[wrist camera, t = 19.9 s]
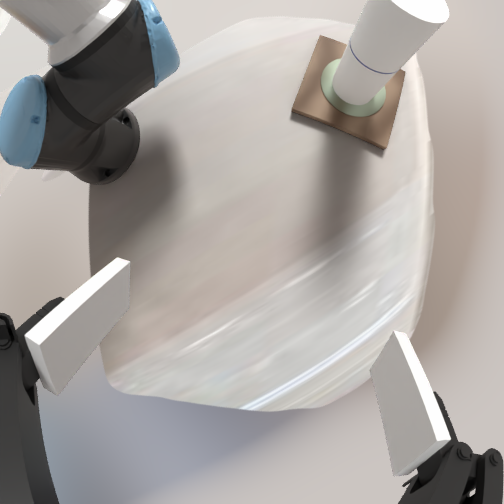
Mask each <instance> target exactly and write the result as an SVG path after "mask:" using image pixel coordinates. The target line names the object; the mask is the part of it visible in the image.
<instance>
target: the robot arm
mask: <svg viewBox="0 0 504 504" xmlns="http://www.w3.org/2000/svg"><path fill="white" fill-rule="evenodd" d="M0 7H1V8H2V9H4V10H5V11H6V12H7V13H9V14H10V15H11V16H13V17H14V18H15V19H16V20H18V21H19V22H20V23H21V24H23V25H24V26H25V27H27V28H28V29H29V30H30V31H31V32H33V33H34V34H35V35H36V36H38V37H39V38H40V39H41V40H43V41H44V42H45V43H46V44H48V63H49V64H50V65H51V66H52V68H51V69H50V70H49V71H48V72H47V73H46V74H45V75H44V76H43V77H40V76H39V75H30V76H28V77H24V78H23V79H21V80H20V81H19V82H18V83H17V84H16V85H15V87H14V88H13V89H12V91H11V92H10V94H9V96H8V98H7V100H6V102H5V104H4V107H3V110H2V113H1V117H0V153H1V155H2V157H3V159H4V160H5V161H6V162H7V163H8V164H10V165H13V166H19V167H23V168H25V169H30V168H31V169H46V170H60V171H69V172H71V173H72V174H73V175H75V176H76V177H77V178H79V179H80V180H82V181H84V182H87V183H90V184H106V183H110V182H112V181H114V180H116V179H117V178H119V177H120V176H121V175H122V174H123V173H124V172H125V171H126V170H127V169H128V168H129V166H130V165H131V163H132V161H133V160H134V158H135V155H136V153H137V150H138V146H139V140H140V131H139V125H138V122H137V119H136V117H135V116H134V114H133V113H132V112H131V111H130V110H129V109H127V108H125V107H126V106H127V105H129V104H130V103H131V102H133V101H134V100H135V99H137V98H138V97H140V96H141V95H142V94H144V93H145V92H147V91H148V90H150V89H151V88H155V87H157V85H158V84H159V83H160V82H161V81H163V80H164V79H166V78H167V77H169V76H170V75H171V74H173V73H174V72H175V71H176V70H177V69H178V67H179V64H180V57H179V54H178V52H177V49H176V47H175V44H174V42H173V40H172V38H171V36H170V33H169V31H168V29H167V28H166V25H165V23H164V22H163V21H162V18H161V16H160V14H159V12H158V10H157V8H156V6H155V5H154V3H153V1H152V0H0ZM129 308H130V261H127V260H124V259H121V258H118V257H117V258H116V259H115V260H113V261H112V262H111V263H109V264H108V265H107V266H105V267H104V268H103V269H102V270H100V271H99V272H98V273H97V274H95V275H94V276H93V277H92V278H90V279H89V280H88V281H87V282H85V283H84V284H83V285H82V286H80V287H79V288H78V289H77V290H76V291H74V292H73V293H72V294H71V295H70V296H68V297H67V298H66V299H64V298H62V297H59V298H56V299H54V300H51V301H49V302H48V303H47V304H46V305H45V306H43V307H42V309H40V310H39V311H37V312H36V314H34V315H33V316H31V317H30V318H29V319H28V320H27V321H26V322H25V323H23V324H22V325H21V326H20V327H19V328H18V329H17V330H15V327H14V324H13V320H12V319H11V318H10V316H9V315H7V314H5V313H0V504H59V502H58V498H57V495H56V492H55V488H54V485H53V482H52V478H51V474H50V470H49V466H48V461H47V457H46V452H45V447H44V442H43V436H42V429H41V423H40V415H39V407H38V396H37V387H36V382H37V380H38V379H39V378H40V380H41V382H42V384H43V387H44V388H46V389H48V390H49V391H50V392H52V393H54V394H55V395H57V396H58V395H59V394H60V393H61V391H62V390H63V389H64V387H65V386H66V385H67V384H68V382H69V381H70V380H71V378H72V377H73V376H74V375H75V373H76V372H77V371H78V370H79V368H80V367H81V366H82V365H83V363H84V362H85V361H86V359H87V358H88V357H89V356H90V355H91V353H92V352H93V351H94V349H95V348H96V347H97V346H98V345H99V344H100V342H101V341H102V340H103V339H104V338H105V336H106V335H107V334H108V333H109V332H110V330H111V329H112V328H113V327H114V326H115V324H116V323H117V322H118V321H119V320H120V319H121V317H122V316H123V315H124V314H125V313H126V312H127V310H128V309H129ZM370 373H371V377H372V380H373V384H374V388H375V392H376V396H377V400H378V405H379V409H380V413H381V417H382V422H383V426H384V430H385V435H386V440H387V445H388V450H389V455H390V461H391V466H392V472H393V476H402V475H408V474H409V473H411V472H412V471H414V470H415V469H416V468H417V470H418V474H417V475H415V476H414V477H412V478H411V479H410V480H408V481H407V482H405V483H404V484H403V485H402V486H403V487H405V486H406V485H407V484H409V483H410V485H409V486H408V488H407V490H406V491H405V493H404V495H403V496H402V498H401V500H400V501H399V503H398V504H502V498H503V459H502V456H501V454H500V452H499V451H498V450H496V449H493V448H491V449H488V450H487V451H486V452H485V453H484V454H483V455H478V454H474V453H473V451H472V450H471V448H470V447H469V446H468V445H467V444H466V443H463V442H458V440H457V437H456V434H455V432H454V429H453V426H452V423H451V421H450V418H449V417H448V414H447V411H446V410H445V406H444V404H443V401H442V399H441V398H440V397H439V396H438V394H437V393H436V392H433V391H432V389H431V386H430V384H429V382H428V380H427V377H426V375H425V373H424V370H423V368H422V366H421V364H420V362H419V360H418V358H417V355H416V353H415V351H414V349H413V347H412V345H411V343H410V341H409V339H408V337H407V335H406V333H402V332H397V331H393V333H392V335H391V336H390V338H389V340H388V342H387V343H386V345H385V347H384V348H383V350H382V351H381V353H380V355H379V356H378V358H377V359H376V361H375V363H374V364H373V366H372V367H371V369H370ZM475 488H476V491H475V494H474V495H472V496H471V497H470V496H469V494H470V492H471V491H472V490H474V489H475Z"/></svg>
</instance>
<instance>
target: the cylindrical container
mask: <svg viewBox="0 0 504 504" xmlns="http://www.w3.org/2000/svg"><path fill="white" fill-rule="evenodd" d="M448 17H449V10H448V7H447V4H446V3H445V1H444V0H367V2H366V4H365V6H364V8H363V11H362V13H361V15H360V17H359V20H358V22H357V24H356V26H355V29H354V31H353V33H352V35H351V38H350V40H349V42H348V44H347V47H346V49H345V51H344V53H343V56H342V58H341V60H340V62H339V65H338V67H337V69H336V71H335V74H334V76H333V79H332V85H333V88H334V91H335V92H336V94H337V95H338V96H339V97H340V98H341V99H342V100H343V101H345V102H347V103H349V104H353V105H364V104H366V103H368V102H369V101H370V100H371V99H372V98H373V97H374V96H375V95H376V94H377V93H378V92H379V91H380V90H381V89H382V88H383V87H384V85H385V84H386V83H387V82H388V81H389V80H390V79H391V78H392V77H393V76H394V75H395V74H396V73H397V72H398V71H399V70H400V69H401V67H402V66H403V65H404V64H405V63H406V62H407V61H408V60H409V59H410V58H411V57H412V56H413V55H414V54H415V53H416V52H417V51H418V50H419V48H420V47H421V46H422V45H423V44H424V43H425V42H426V41H427V40H428V39H429V38H430V37H431V36H432V35H433V34H434V33H435V32H436V31H437V30H438V29H439V28H440V27H441V26H442V25H443V24H444V22H445V21H446V20H447V19H448Z"/></svg>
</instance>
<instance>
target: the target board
mask: <svg viewBox="0 0 504 504" xmlns="http://www.w3.org/2000/svg"><path fill="white" fill-rule="evenodd" d="M346 47H347V45H346V44H344V43H341V42H338V41H336V40H333V39H330V38H327V37H324V36H321V35H320V37H319V39H318V42H317V44H316V47H315V50H314V52H313V55H312V57H311V60H310V62H309V65H308V68H307V70H306V73H305V76H304V78H303V81H302V83H301V86H300V89H299V91H298V94H297V97H296V99H295V102H294V104H293V107H292V112H295V113H297V114H300V115H303V116H306V117H308V118H311V119H314V120H316V121H319V122H322V123H324V124H327V125H329V126H332V127H334V128H337V129H339V130H341V131H344V132H346V133H348V134H351V135H353V136H355V137H357V138H360V139H362V140H364V141H366V142H368V143H371V144H373V145H375V146H377V147H379V148H381V149H386V148H387V145H388V141H389V138H390V134H391V130H392V127H393V123H394V119H395V115H396V111H397V107H398V103H399V99H400V95H401V91H402V86H403V82H404V77H405V71H403V70H401V69H400V70H399V71H398V72H397V73H396V74H395V75H394V76H393V77H392V78H391V79H390V80H389V81H388V82H387V83H386V84H385V85H384V87H383V88H382V89H381V90H380V91H379V92H378V93H377V94H376V95H375V96H374V97H373V98H372V99H371V100H370V101H369V102H368V103H366V104H364V105H353V104H349V103H347V102H345V101H343V100H342V99H341V98H340V97H339V96H338V95H337V94H336V92H335V91H334V88H333V85H332V79H333V76H334V74H335V71H336V69H337V67H338V65H339V62H340V60H341V58H342V56H343V53H344V51H345V49H346Z"/></svg>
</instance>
